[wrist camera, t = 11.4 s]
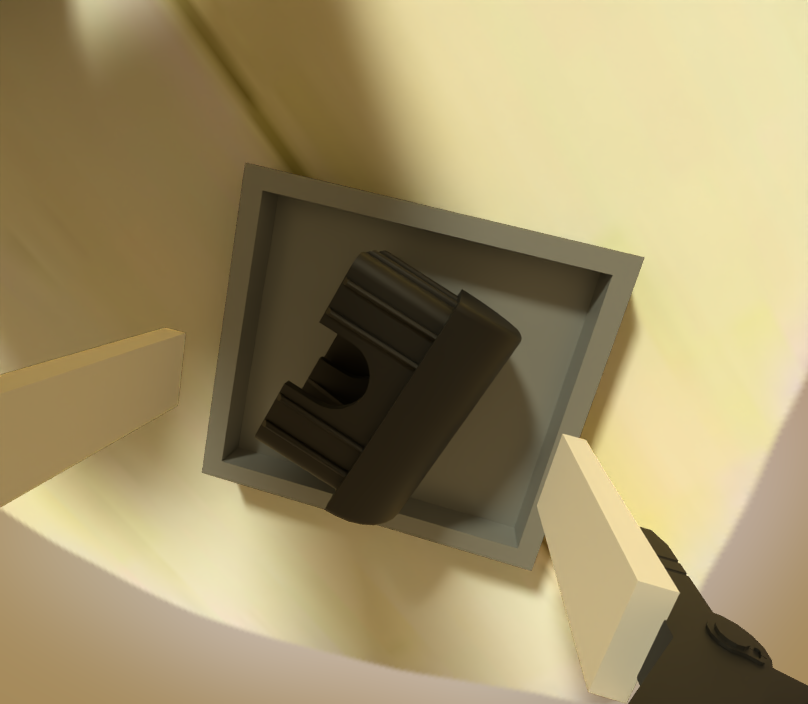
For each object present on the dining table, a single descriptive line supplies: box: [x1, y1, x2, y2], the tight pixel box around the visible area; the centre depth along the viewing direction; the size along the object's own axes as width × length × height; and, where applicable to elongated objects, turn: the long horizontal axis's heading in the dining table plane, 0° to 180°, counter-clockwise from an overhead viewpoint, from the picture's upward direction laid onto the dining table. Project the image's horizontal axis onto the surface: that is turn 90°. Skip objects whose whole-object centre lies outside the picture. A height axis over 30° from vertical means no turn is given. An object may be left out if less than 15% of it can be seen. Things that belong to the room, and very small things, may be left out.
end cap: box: [255, 250, 522, 525], centre depth 20 cm, size 10×7×7 cm
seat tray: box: [202, 163, 644, 571], centre depth 23 cm, size 18×16×3 cm
